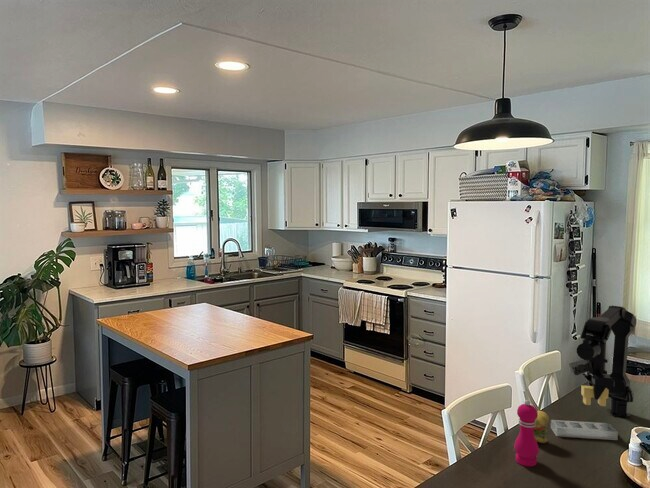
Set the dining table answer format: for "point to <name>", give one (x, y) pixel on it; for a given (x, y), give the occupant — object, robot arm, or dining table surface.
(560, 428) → the grey compartment tray
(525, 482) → the dining table surface
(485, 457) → the dining table surface
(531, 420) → the pepper mill
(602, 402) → the pale yellow block
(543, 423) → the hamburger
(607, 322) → the robot arm
